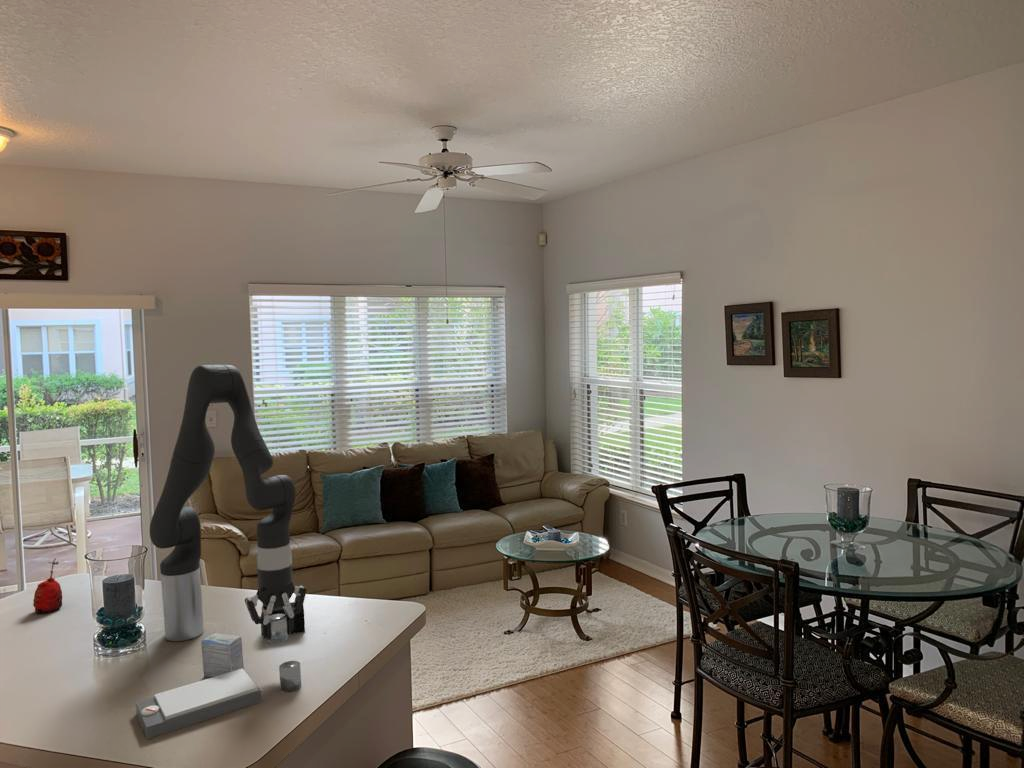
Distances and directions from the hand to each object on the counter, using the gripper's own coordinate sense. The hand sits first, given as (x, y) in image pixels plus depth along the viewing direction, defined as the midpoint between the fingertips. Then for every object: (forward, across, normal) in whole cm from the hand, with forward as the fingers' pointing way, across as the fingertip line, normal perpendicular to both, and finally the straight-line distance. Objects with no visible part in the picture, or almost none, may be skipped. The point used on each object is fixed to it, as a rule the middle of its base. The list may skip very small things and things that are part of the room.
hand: (277, 635), depth 166 cm
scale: (+8, +19, +6) cm, 21 cm away
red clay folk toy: (+11, +40, -81) cm, 91 cm away
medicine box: (+9, +11, -6) cm, 15 cm away
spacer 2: (+8, +1, +10) cm, 13 cm away
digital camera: (+9, -8, -21) cm, 25 cm away
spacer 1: (+1, 0, 0) cm, 1 cm away
